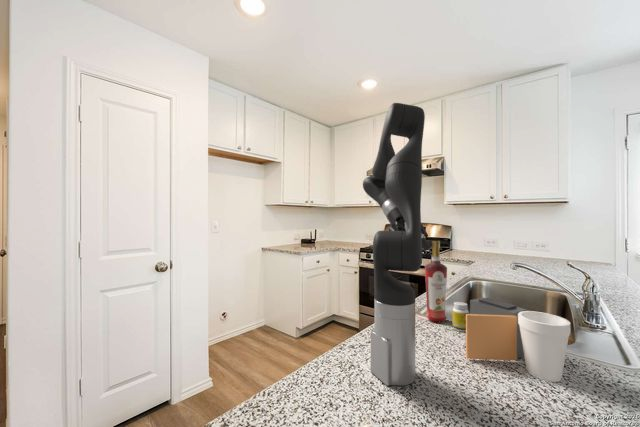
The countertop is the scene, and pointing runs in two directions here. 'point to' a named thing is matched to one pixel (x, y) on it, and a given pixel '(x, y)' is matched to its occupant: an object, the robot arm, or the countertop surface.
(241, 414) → the countertop surface
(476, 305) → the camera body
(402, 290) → the robot arm
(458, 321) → the supplement bottle
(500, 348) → the side door
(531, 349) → the foam cup
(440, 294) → the liquor
